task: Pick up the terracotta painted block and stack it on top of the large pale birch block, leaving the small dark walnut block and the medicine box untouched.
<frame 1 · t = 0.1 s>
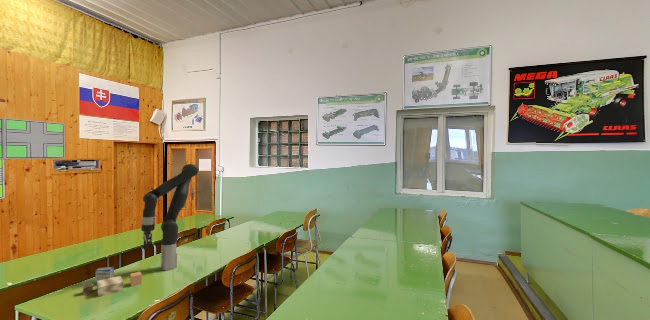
hand: (146, 247, 181), 17 cm above the table, fingers open, 8 cm apart
walnut block: (87, 292, 153), on the table
birch block: (109, 289, 157), on the table
medicine box: (104, 282, 166), on the table
terracotta block: (135, 283, 166), on the table
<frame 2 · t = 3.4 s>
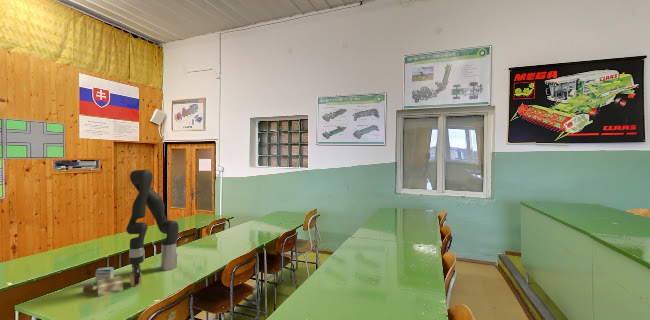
hand: (135, 282, 166), 1 cm above the table, fingers closed on terracotta block, 5 cm apart
terracotta block: (135, 283, 166), on the table, touching gripper
everything else where it was.
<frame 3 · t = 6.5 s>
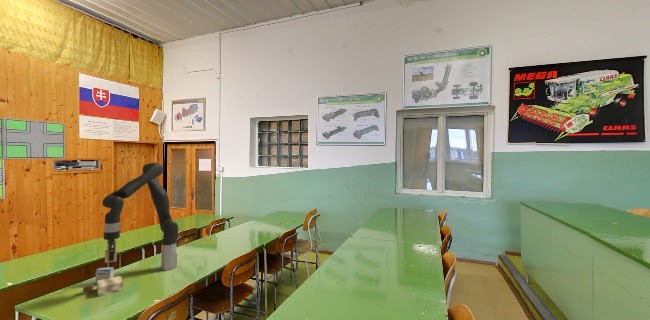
hand: (110, 259, 157), 18 cm above the table, fingers closed on terracotta block, 5 cm apart
terracotta block: (110, 260, 157), point 17 cm above the table, touching gripper
everything else where it was.
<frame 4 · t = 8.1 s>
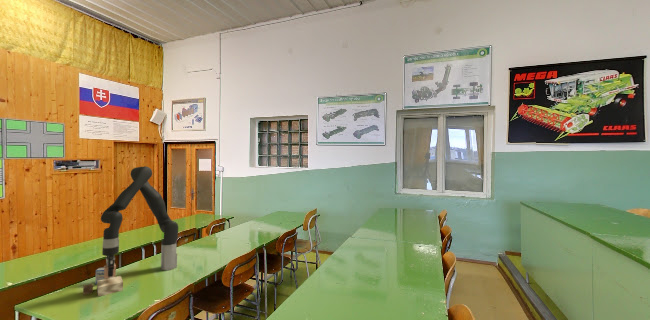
hand: (109, 274, 157), 9 cm above the table, fingers closed on terracotta block, 5 cm apart
terracotta block: (109, 276, 157), point 8 cm above the table, touching gripper
everything else where it was.
when the fingers open (7 cm above the table, at t = 9.3 s): terracotta block drops 1 cm, resting on birch block.
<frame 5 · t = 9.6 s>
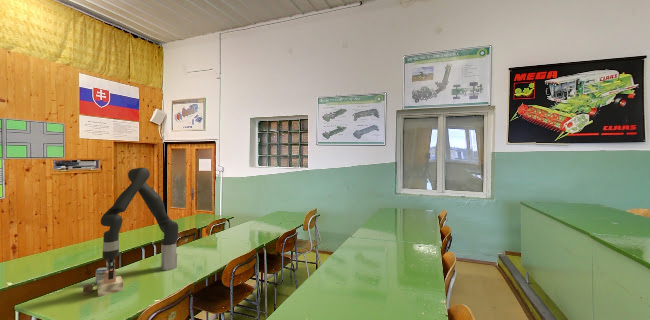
hand: (110, 276, 157), 8 cm above the table, fingers open, 7 cm apart
terracotta block: (110, 281, 157), point 5 cm above the table, touching birch block
everything else where it was.
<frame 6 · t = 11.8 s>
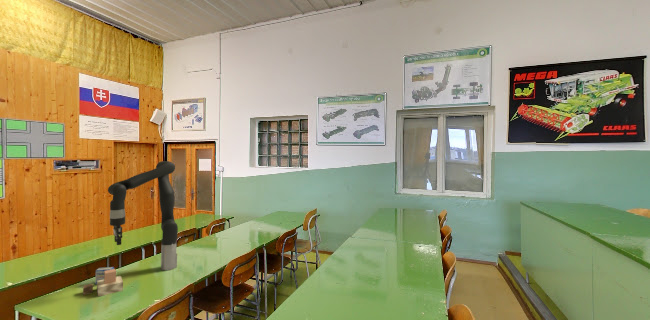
hand: (117, 243, 164), 25 cm above the table, fingers open, 8 cm apart
nothing on the table moved.
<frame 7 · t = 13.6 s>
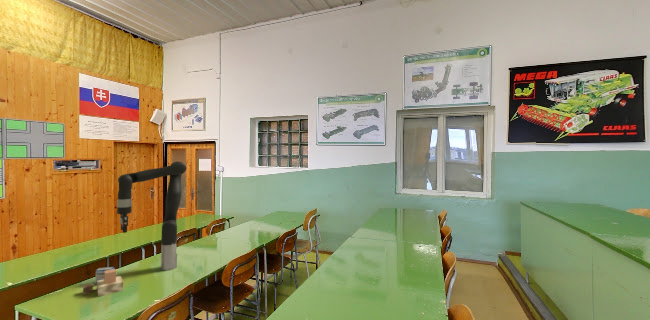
hand: (123, 231, 172), 30 cm above the table, fingers open, 8 cm apart
nothing on the table moved.
at the end: terracotta block 0.0 cm off-centre on the birch block, point 5.0 cm above the birch block's base; terracotta block tilted 0°; the gripper is holding nothing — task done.
